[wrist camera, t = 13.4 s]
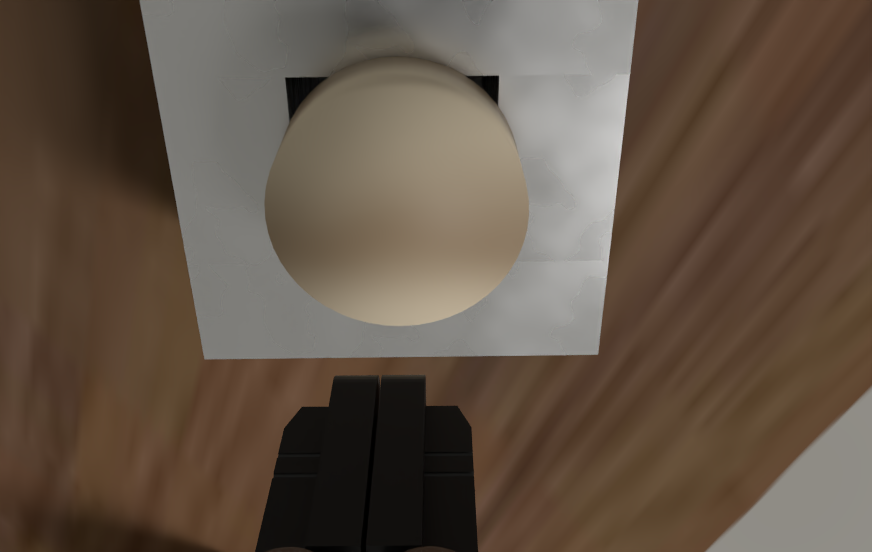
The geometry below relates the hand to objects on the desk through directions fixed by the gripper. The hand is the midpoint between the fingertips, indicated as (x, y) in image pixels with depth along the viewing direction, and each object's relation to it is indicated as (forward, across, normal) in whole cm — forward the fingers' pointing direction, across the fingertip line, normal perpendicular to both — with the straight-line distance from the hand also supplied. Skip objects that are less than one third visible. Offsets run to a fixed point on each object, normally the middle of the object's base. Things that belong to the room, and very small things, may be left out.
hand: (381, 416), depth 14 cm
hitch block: (+17, 0, 0) cm, 17 cm away
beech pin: (+15, 0, 0) cm, 15 cm away
